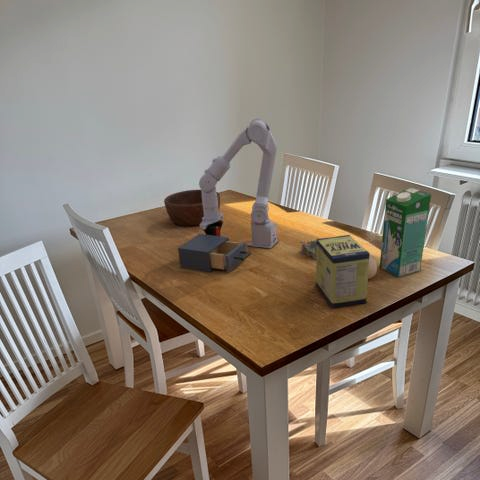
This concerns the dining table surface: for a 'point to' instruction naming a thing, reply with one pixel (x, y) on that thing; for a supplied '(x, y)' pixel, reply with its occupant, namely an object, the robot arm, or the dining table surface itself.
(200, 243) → the cabinet
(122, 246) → the dining table surface
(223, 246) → the drawer
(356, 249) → the protein box
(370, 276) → the egg
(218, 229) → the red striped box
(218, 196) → the wooden bowl
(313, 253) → the egg carton
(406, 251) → the milk carton
